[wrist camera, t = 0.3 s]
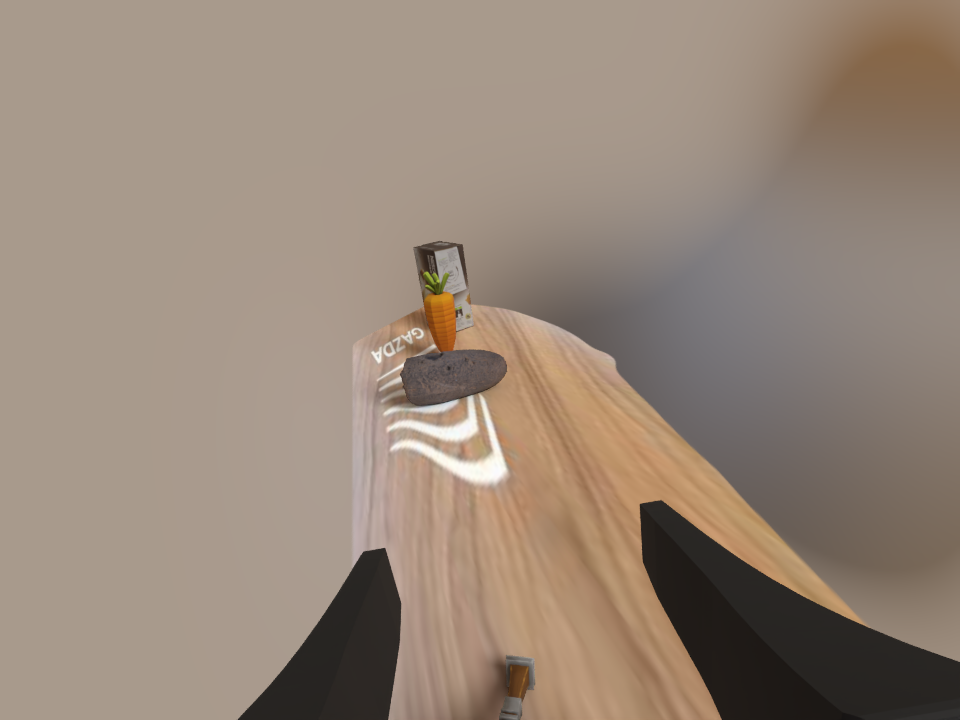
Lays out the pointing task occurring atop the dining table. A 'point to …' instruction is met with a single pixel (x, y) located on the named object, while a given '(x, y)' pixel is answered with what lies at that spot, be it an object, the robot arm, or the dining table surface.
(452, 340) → the carrot
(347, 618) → the robot arm
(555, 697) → the dining table surface
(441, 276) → the coffee box
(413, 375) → the perforated stone tool
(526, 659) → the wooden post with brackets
